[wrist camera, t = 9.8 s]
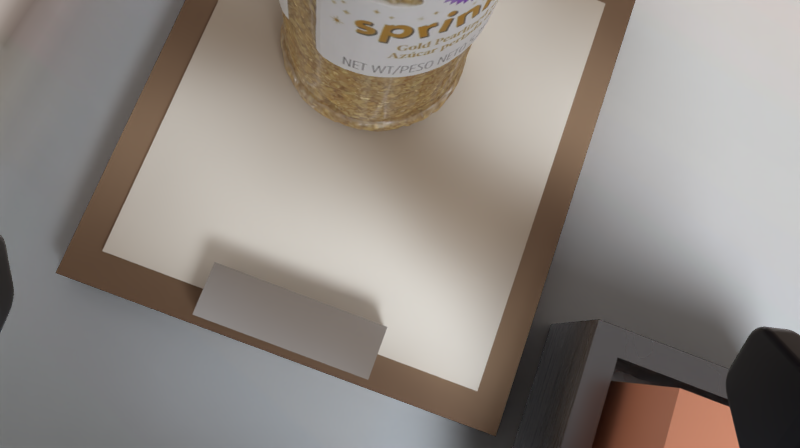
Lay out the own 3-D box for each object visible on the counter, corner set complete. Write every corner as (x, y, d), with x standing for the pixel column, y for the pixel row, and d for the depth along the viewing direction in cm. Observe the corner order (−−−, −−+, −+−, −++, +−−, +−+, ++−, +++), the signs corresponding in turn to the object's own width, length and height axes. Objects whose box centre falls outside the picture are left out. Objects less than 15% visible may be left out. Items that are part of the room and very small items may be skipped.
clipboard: (487, 432, 17) (505, 441, 15) (68, 276, 16) (41, 268, 15) (625, 4, 19) (652, -26, 18) (265, -142, 19) (260, -188, 17)
